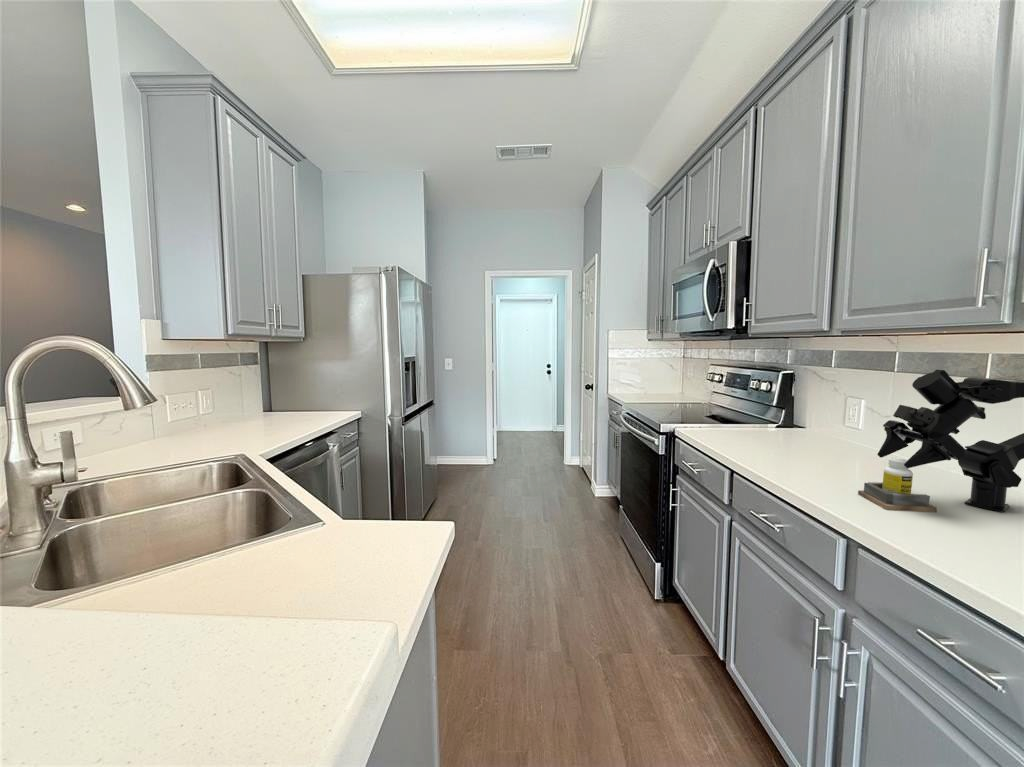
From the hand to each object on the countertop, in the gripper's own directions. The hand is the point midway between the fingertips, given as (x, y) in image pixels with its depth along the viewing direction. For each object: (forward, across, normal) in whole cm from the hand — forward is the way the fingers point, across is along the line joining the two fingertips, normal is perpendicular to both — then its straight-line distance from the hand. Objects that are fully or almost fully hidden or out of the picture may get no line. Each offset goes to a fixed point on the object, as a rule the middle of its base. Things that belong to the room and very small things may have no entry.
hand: (891, 461), depth 108 cm
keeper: (+6, 0, +8) cm, 11 cm away
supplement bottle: (+6, 0, +8) cm, 10 cm away
